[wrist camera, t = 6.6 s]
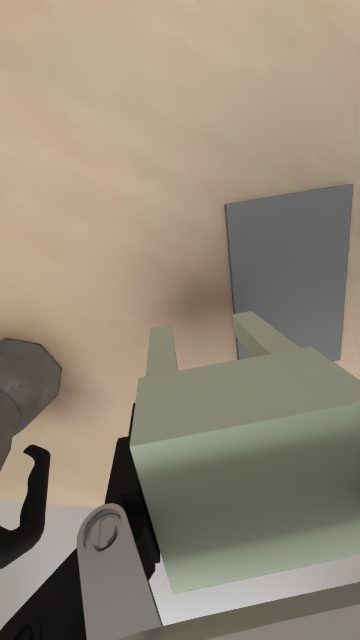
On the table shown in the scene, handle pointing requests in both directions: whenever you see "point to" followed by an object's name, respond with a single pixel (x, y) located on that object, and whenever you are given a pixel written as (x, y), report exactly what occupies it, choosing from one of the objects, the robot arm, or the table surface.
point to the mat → (292, 264)
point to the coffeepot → (12, 417)
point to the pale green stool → (248, 458)
